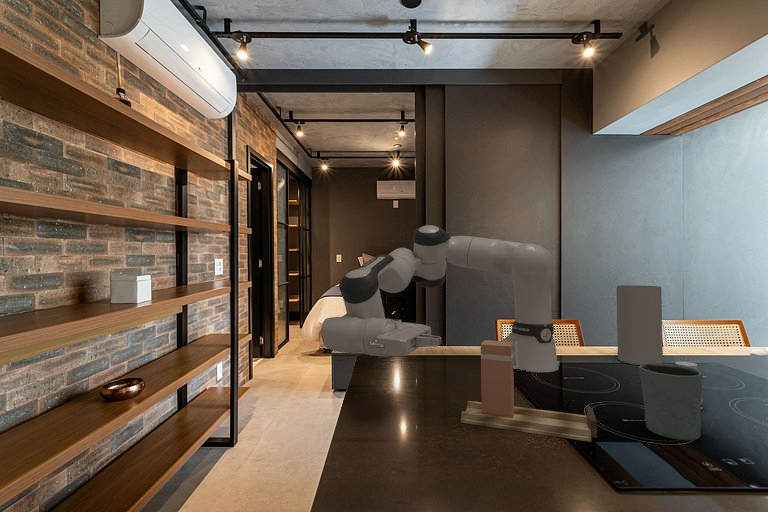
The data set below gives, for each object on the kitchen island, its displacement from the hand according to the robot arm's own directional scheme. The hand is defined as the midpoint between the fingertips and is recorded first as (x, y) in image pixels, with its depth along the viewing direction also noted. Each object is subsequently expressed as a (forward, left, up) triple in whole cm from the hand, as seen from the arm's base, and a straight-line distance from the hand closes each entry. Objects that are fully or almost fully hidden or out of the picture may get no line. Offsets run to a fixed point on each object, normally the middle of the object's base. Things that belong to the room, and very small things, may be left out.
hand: (439, 341), depth 88 cm
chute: (+11, +13, -15) cm, 23 cm away
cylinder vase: (-19, +81, -16) cm, 85 cm away
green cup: (+23, +38, -16) cm, 48 cm away
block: (+8, +9, -14) cm, 19 cm away
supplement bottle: (+15, +54, -16) cm, 59 cm away
